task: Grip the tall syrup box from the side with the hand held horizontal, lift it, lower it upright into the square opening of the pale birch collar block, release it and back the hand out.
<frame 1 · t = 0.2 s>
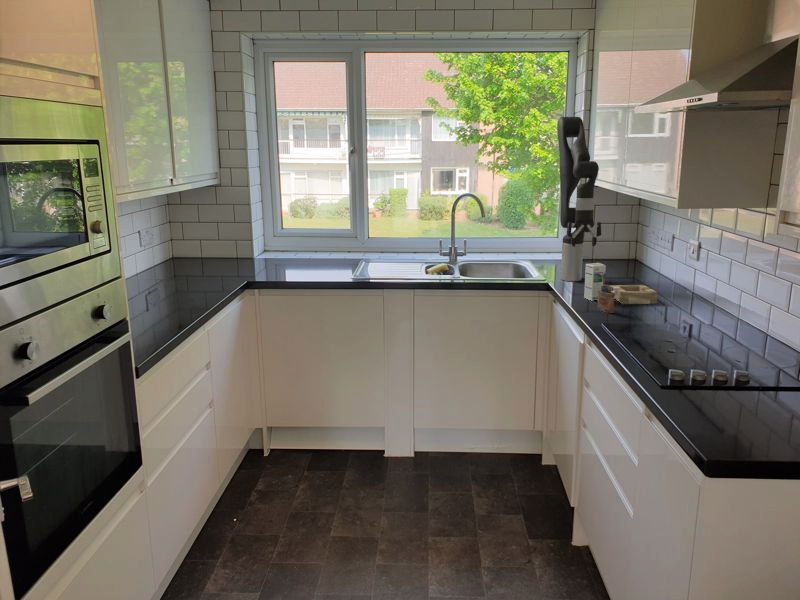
hand: (583, 246, 274), 18 cm above the countertop, tool pointing down, fingers open, 8 cm apart
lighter: (605, 311, 236), on the countertop
syrup box: (593, 299, 255), on the countertop
collar: (632, 299, 253), on the countertop
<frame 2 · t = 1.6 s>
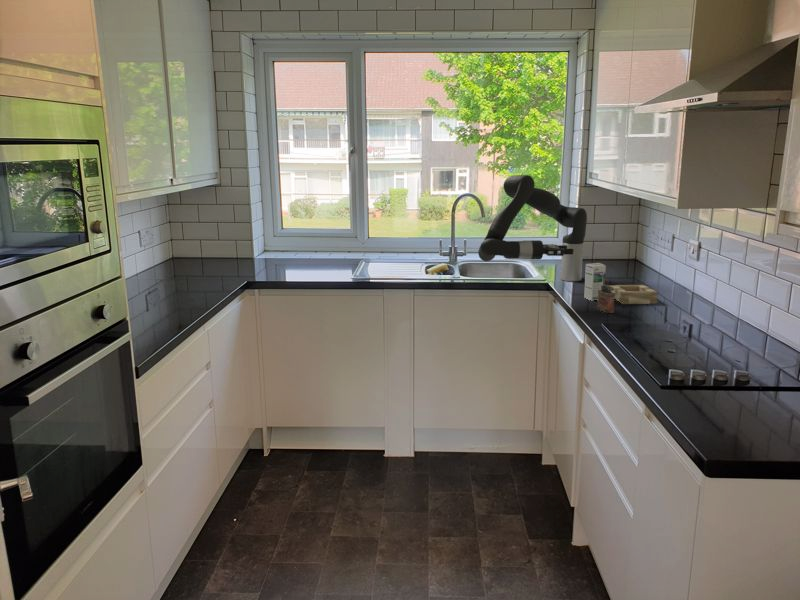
hand: (569, 249, 249), 20 cm above the countertop, tool horizontal, fingers open, 8 cm apart
nothing on the countertop moved.
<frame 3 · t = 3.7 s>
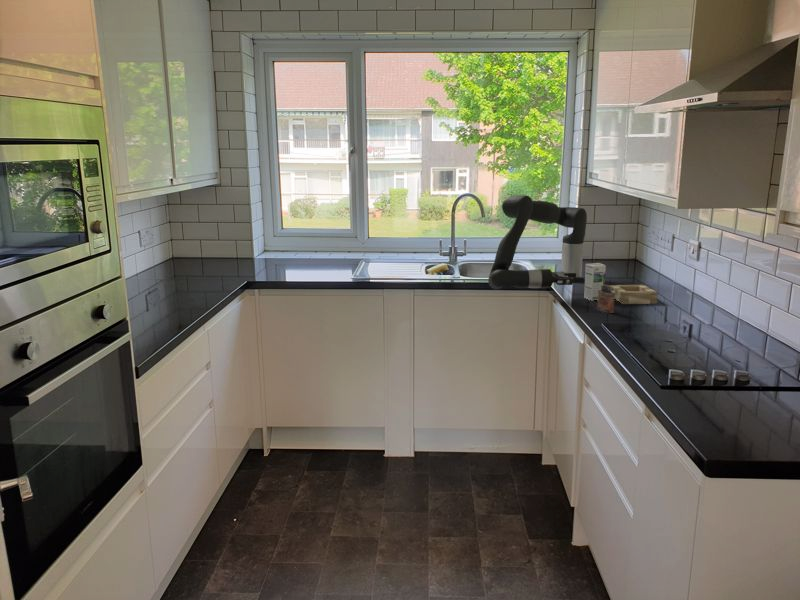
hand: (578, 277, 252), 9 cm above the countertop, tool horizontal, fingers open, 8 cm apart
nothing on the countertop moved.
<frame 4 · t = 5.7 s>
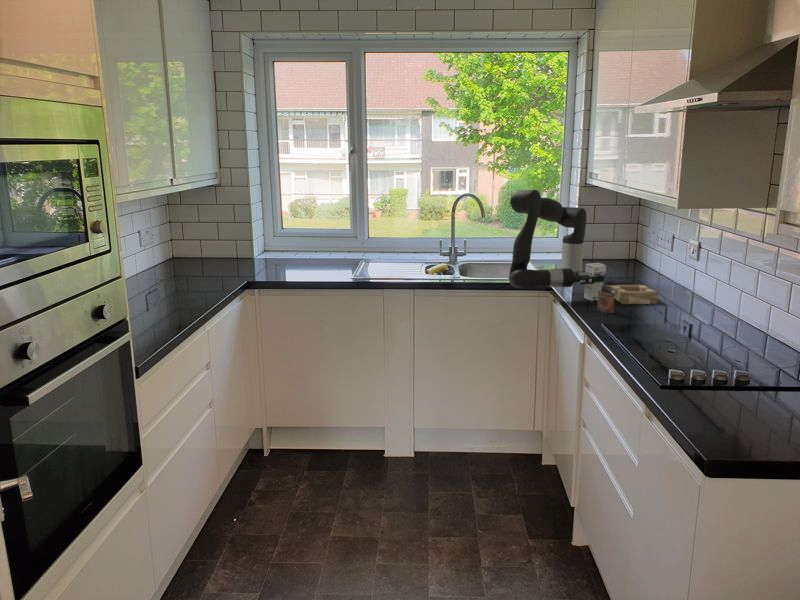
hand: (600, 277, 252), 9 cm above the countertop, tool horizontal, fingers closed on syrup box, 6 cm apart
syrup box: (593, 299, 255), on the countertop, touching gripper
everything else where it was.
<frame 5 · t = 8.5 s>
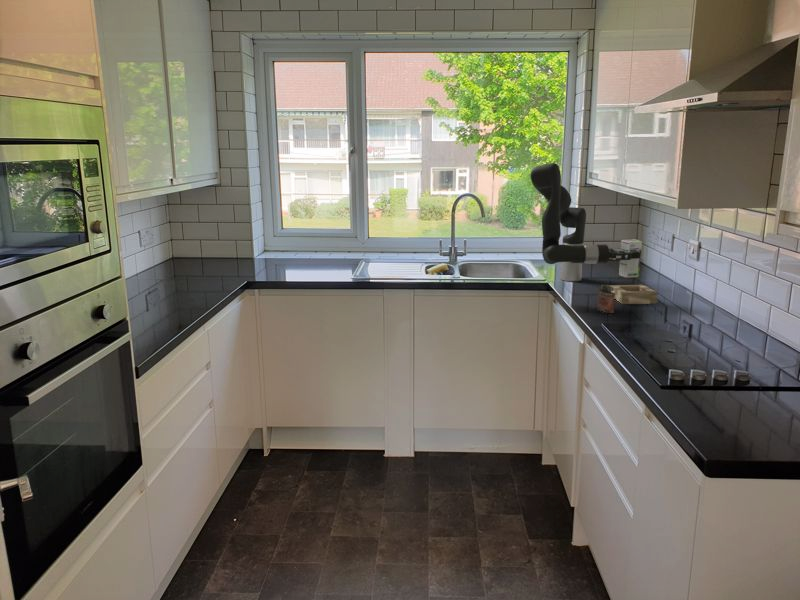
hand: (636, 253, 249), 19 cm above the countertop, tool horizontal, fingers closed on syrup box, 6 cm apart
syrup box: (628, 276, 251), point 9 cm above the countertop, touching gripper
everything else where it was.
when the fingers open (10 cm above the countertop, at t = 11.3 s): syrup box drops 1 cm, resting in collar.
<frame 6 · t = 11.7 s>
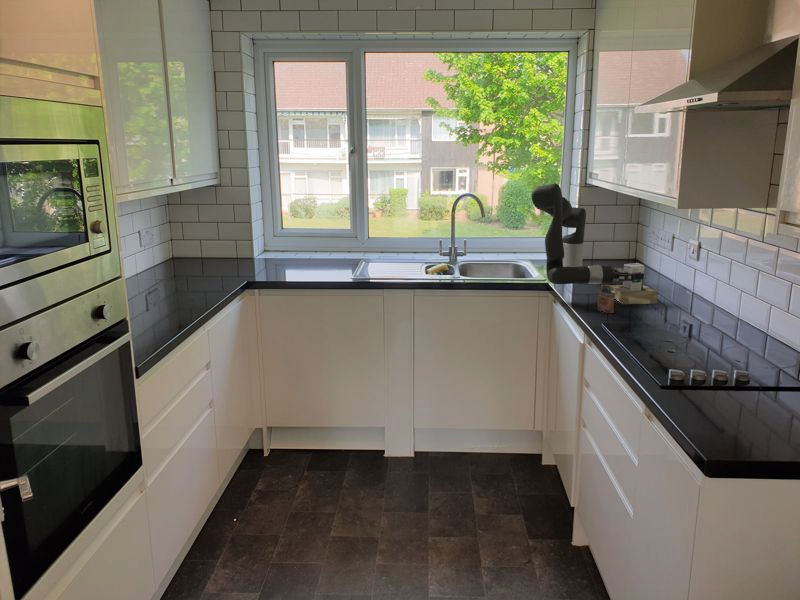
hand: (638, 273, 251), 11 cm above the countertop, tool horizontal, fingers open, 8 cm apart
syrup box: (631, 300, 253), resting in collar
everything else where it was.
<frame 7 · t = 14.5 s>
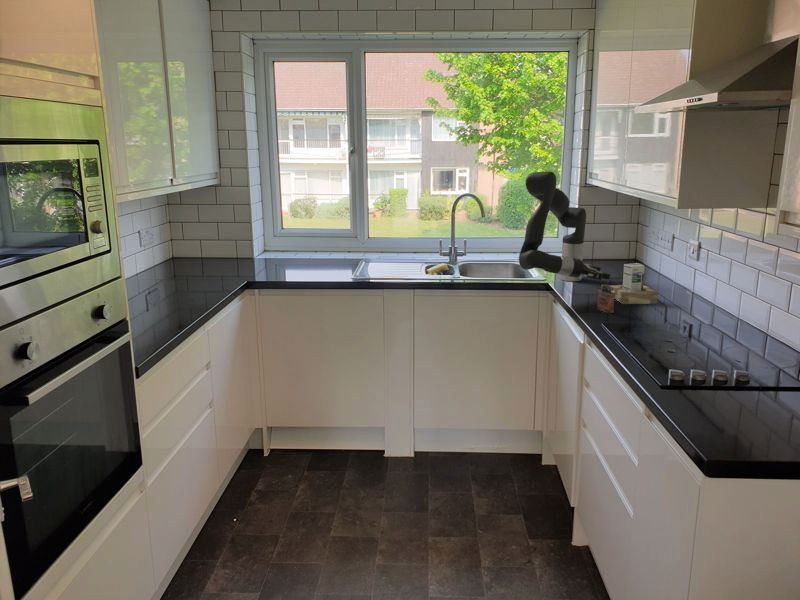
hand: (604, 273, 254), 10 cm above the countertop, tool horizontal, fingers open, 8 cm apart
nothing on the countertop moved.
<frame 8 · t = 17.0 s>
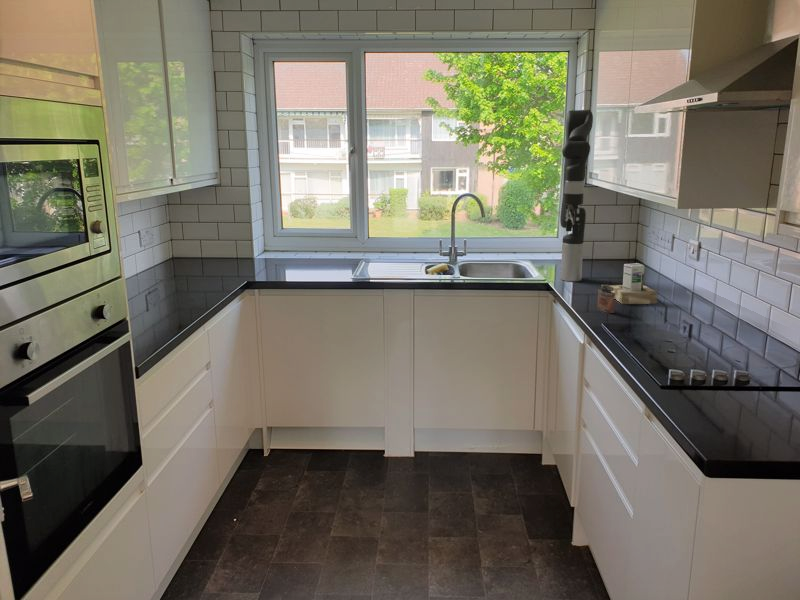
hand: (571, 232, 256), 26 cm above the countertop, tool pointing down, fingers open, 8 cm apart
nothing on the countertop moved.
at the end: syrup box 0.1 cm off-centre on the collar, point 0.0 cm above the collar's base; syrup box tilted 0°; the gripper is holding nothing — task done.
